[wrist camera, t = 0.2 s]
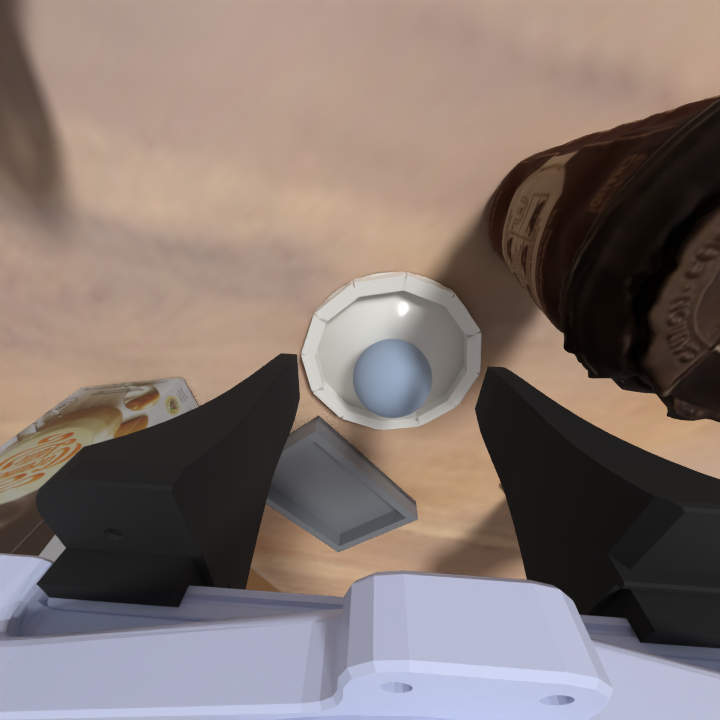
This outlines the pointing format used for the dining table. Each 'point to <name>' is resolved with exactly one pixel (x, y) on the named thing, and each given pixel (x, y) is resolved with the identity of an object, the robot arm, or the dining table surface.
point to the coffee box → (73, 450)
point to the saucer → (392, 321)
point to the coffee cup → (627, 251)
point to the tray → (335, 489)
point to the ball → (392, 378)
